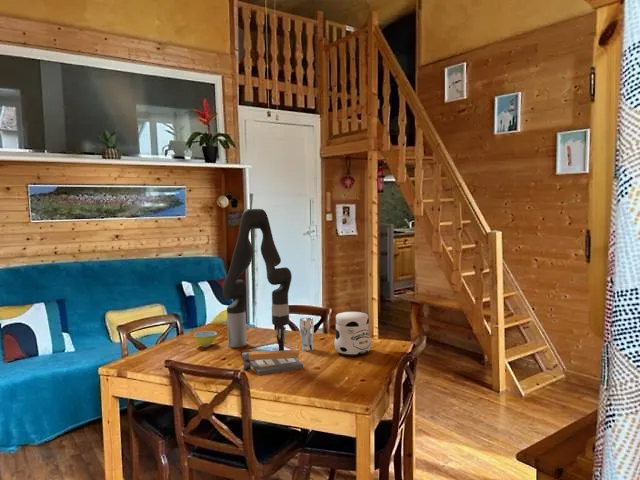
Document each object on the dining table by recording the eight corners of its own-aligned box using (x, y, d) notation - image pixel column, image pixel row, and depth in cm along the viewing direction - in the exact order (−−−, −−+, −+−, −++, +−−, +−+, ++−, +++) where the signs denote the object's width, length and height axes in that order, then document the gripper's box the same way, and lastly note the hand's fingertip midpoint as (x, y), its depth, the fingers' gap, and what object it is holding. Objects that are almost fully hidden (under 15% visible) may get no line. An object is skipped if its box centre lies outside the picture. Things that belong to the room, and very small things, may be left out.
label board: (250, 364, 214) (250, 360, 214) (293, 358, 221) (293, 354, 221) (257, 374, 201) (257, 370, 201) (303, 368, 208) (303, 363, 208)
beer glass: (298, 348, 237) (297, 318, 236) (311, 346, 240) (310, 316, 239) (302, 352, 231) (301, 321, 230) (316, 350, 233) (315, 319, 232)
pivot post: (243, 368, 210) (242, 359, 210) (249, 367, 211) (249, 358, 211) (244, 370, 207) (244, 361, 207) (251, 369, 208) (251, 360, 208)
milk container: (366, 359, 218) (365, 320, 216) (329, 356, 223) (329, 318, 222) (374, 348, 234) (374, 312, 233) (340, 346, 240) (339, 310, 238)
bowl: (214, 348, 240) (213, 336, 240) (191, 349, 240) (191, 337, 240) (219, 342, 251) (219, 330, 251) (197, 342, 252) (197, 331, 251)
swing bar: (241, 360, 206) (241, 354, 206) (242, 357, 210) (242, 352, 210) (297, 358, 208) (297, 352, 208) (297, 355, 212) (297, 349, 212)
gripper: (273, 309, 218) (274, 347, 220) (270, 317, 205) (271, 356, 206) (290, 309, 218) (291, 346, 220) (287, 317, 205) (288, 356, 206)
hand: (281, 351), depth 213 cm, fingers closed
